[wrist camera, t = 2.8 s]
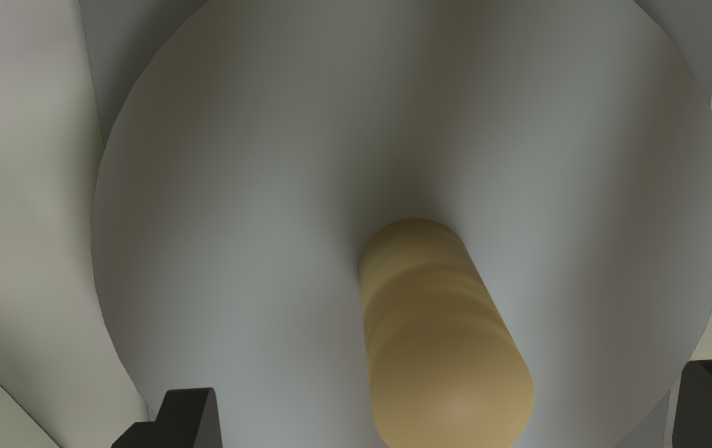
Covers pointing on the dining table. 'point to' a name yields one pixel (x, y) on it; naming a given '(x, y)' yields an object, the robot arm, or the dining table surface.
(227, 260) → the lid
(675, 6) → the mat
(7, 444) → the bowl
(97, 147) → the dining table surface
